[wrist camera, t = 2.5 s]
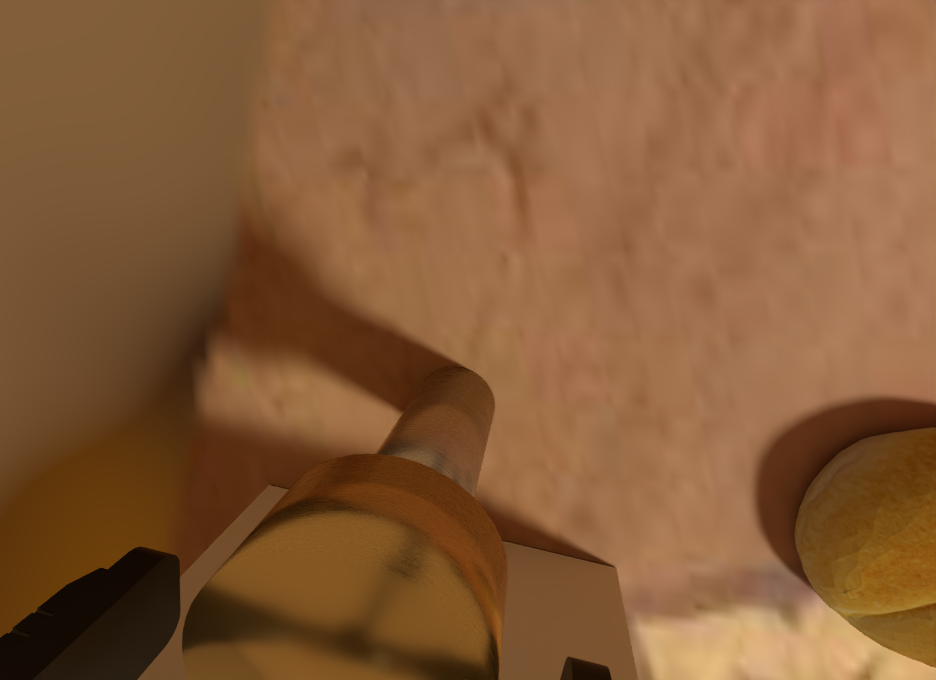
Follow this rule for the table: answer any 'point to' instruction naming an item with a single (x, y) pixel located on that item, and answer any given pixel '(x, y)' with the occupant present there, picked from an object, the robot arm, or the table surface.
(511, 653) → the pin block
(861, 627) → the bread roll
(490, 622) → the brass-head pin
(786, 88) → the table surface
